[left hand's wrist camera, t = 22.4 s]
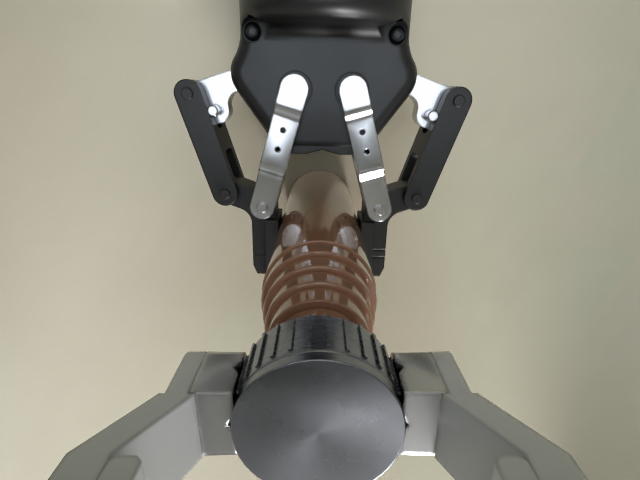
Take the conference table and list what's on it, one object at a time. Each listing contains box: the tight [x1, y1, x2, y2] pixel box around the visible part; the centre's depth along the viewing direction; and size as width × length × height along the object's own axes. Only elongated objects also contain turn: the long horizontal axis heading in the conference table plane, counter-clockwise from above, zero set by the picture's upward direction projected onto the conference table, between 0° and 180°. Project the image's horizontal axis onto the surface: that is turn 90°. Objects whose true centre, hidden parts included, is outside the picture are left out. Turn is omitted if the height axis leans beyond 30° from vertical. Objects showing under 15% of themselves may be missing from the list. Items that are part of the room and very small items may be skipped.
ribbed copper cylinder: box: [261, 170, 377, 334], centre depth 19 cm, size 4×4×20 cm
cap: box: [231, 314, 406, 480], centre depth 10 cm, size 4×4×2 cm
